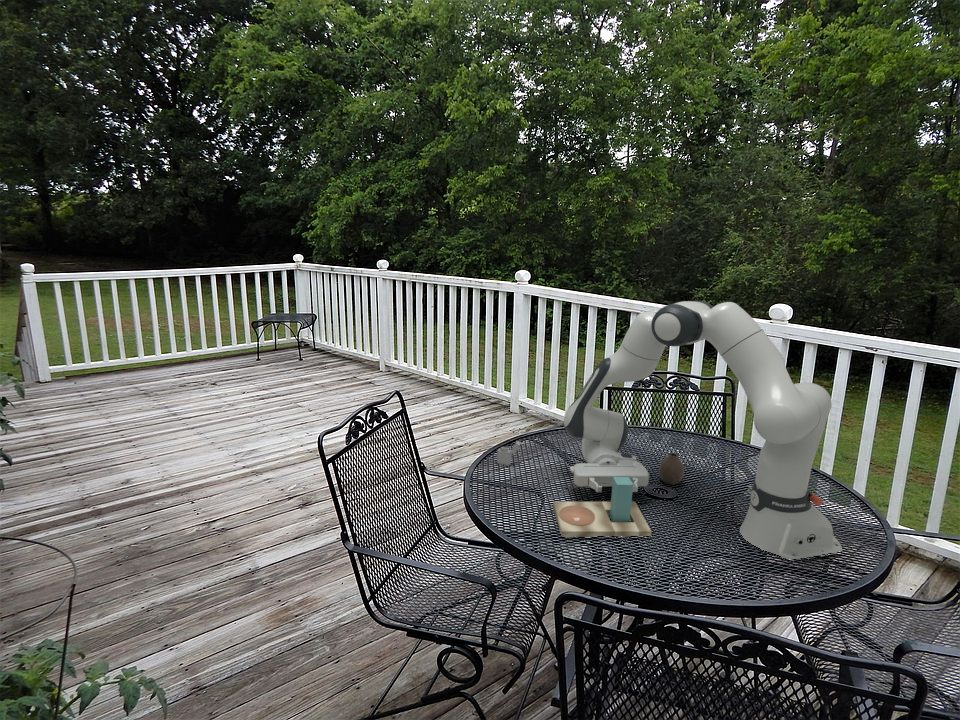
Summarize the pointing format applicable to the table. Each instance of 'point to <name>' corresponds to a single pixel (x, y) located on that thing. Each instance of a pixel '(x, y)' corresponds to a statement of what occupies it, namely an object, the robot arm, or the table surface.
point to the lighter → (506, 454)
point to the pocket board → (602, 521)
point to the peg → (621, 499)
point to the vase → (671, 469)
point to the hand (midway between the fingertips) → (617, 489)
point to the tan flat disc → (577, 515)
